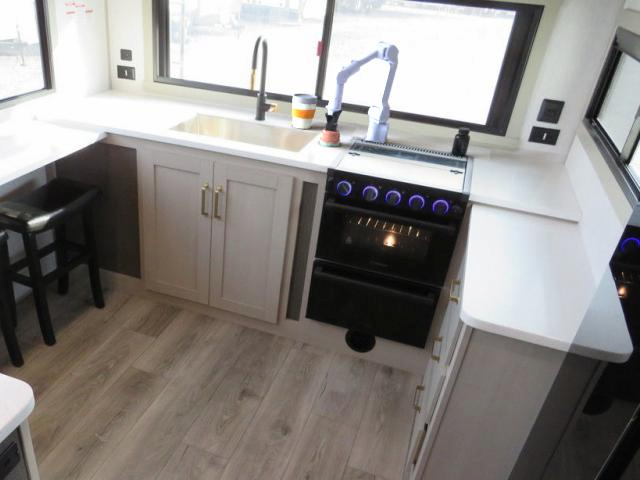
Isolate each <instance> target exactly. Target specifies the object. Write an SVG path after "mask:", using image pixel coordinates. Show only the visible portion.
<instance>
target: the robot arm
mask: <svg viewBox="0 0 640 480" xmlns="http://www.w3.org/2000/svg"><path fill="white" fill-rule="evenodd" d="M399 53H400V51H399V48H397V46H396V45H395V44H391V43H387V42H384V41H378V42H377V43H376V44H374V45H373V46H372V47H371V48H370V49H369V50H368V51H366V52H365V53H364V54H363V55H361V56H360V57H359V58H357V59H355V58H353V59H349V60H348V62H346V63H345V64H343V65H341V66H339V68H334V69H333V70H332V71H331V73H330V74H329V80H330V91H329V100H328V101H329V102H328V105H326V106H325V109H327V110H328V111H327V112H325V113H324V116H325V118H326V124H327V128H328V129H331V130H332V128H333V125H334V123H337V124H338V121H339V118H340V116H341V114H342V113H343V109H342V102H343V96H344V88H345V84H347V82H348V80H349V78H351V77H352V76H353V75H355V74H356V73H358V72H359V71H360V70H361V67H363V66H364V65H366V64H368V63H370V62H371V61H373V60H375V59H380V60H381V61H382V62H383V64H384V69H383V72H382V75H381V80H380V83H379V88H378V92H377V95H376V96H377V97H376V99H375V100H374V101H373V102H372V103H371V106H370V107H369V109H368V111H367V115H368V117H369V124H368V130H367V136H366V137H365V139H364V141H368V142H373V143H378V144H386V143H385V142H386V141H387V140H388V134H389V130H390V123H388V121H389V119H390V116H391V114H390V113H391V112H390V111H391V106H390V103H389V99H390V96H391V95H390V94H391V91H392V87H393V85H394V80H395V77H396V73H397V69H398V64H399V57H398V56H399Z"/></svg>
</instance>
